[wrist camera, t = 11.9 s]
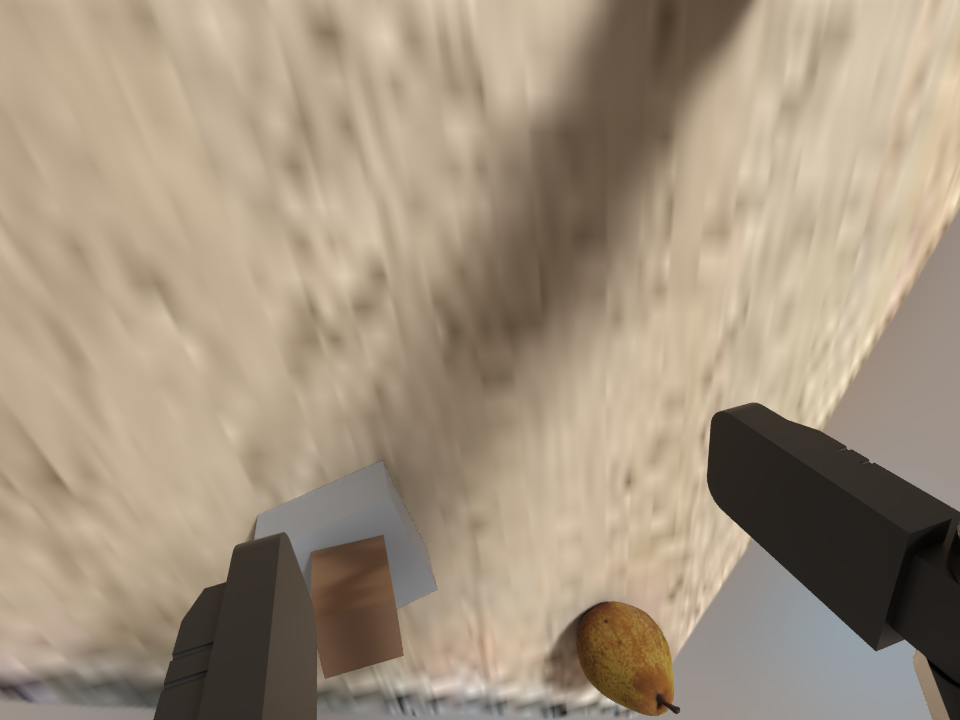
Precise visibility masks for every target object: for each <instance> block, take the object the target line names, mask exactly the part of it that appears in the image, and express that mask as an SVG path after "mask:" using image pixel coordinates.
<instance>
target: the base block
mask: <svg viewBox="0 0 960 720" xmlns="http://www.w3.org/2000/svg"><path fill="white" fill-rule="evenodd" d="M281 532H285V533H286V534H287V535H288V537H289V539H290V542H291V544H292V547H293V550H294V553H295V555H296V558H297V561H298V564H299V566H300V569H301V572H302V575H303V577H304V580H305V583H306V586H307V589H308V591H309V594H310V597H311V552H312V551H316V550H320V549H325V548H329V547H333V546H338V545H342V544H346V543H350V542H355V541H359V540H363V539H367V538H372V537H376V536H380V535H384V540H385V546H386V551H387V557H388V563H389V568H390V574H391V580H392V585H393V591H394V597H395V603H396V609H398V608H400V607H402V606H404V605H406V604H408V603H411V602H413V601H415V600H417V599H419V598H421V597H423V596H425V595H427V594H429V593H431V592H433V591H435V590H438V589H437V585H436V582H435V578H434V574H433V571H432V567H431V563H430V559H429V556H428V552H427V548H426V546H425V544H424V542H423V540H422V538H421V536H420V534H419V532H418V530H417V528H416V526H415V524H414V523H413V521H412V519H411V517H410V515H409V513H408V511H407V509H406V507H405V505H404V503H403V501H402V499H401V497H400V495H399V493H398V491H397V489H396V487H395V485H394V483H393V481H392V479H391V477H390V475H389V473H388V471H387V469H386V467H385V465H384V463H383V461H382V460H381V461H379V462H377V463H375V464H372V465H370V466H368V467H366V468H363V469H361V470H359V471H357V472H354V473H352V474H350V475H347V476H345V477H343V478H341V479H338V480H336V481H334V482H332V483H329V484H327V485H325V486H323V487H320V488H318V489H316V490H314V491H311V492H309V493H307V494H304V495H302V496H300V497H298V498H295V499H293V500H291V501H289V502H286V503H284V504H282V505H280V506H277V507H275V508H273V509H271V510H268V511H266V512H264V513H262V514H259V515H258V517H257V523H256V530H255V536H254V540H256V539H260V538H263V537H267V536H270V535H274V534H278V533H281Z"/></svg>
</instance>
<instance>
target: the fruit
mask: <svg viewBox="0 0 960 720" xmlns="http://www.w3.org/2000/svg"><path fill="white" fill-rule="evenodd" d="M577 650H578V656H579V660H580V663H581V667H582V669H583V671H584V673H585V675H586V676H587V678H588V679H589V681H590V682H591V683H592V685H593V686H594V687H595V688H596V689H597V690H598V691H600V692H601V693H602V694H603V695H604V696H606V697H607V698H609V699H611V700H612V701H614V702H616V703H618V704H620V705H622V706H624V707H626V708H629V709H631V710H633V711H636V712H638V713H641V714H644V715H649V716H658V715H661V714H663V713H665V712H667V711H668V709H670V710H671V711H673V712H674V713H675V714H678V713H679V712H680V708H679V707H676V706H674V705H672V701H673V695H674V682H673V673H672V659H671V653H670V649H669V646H668V643H667V641H666V639H665V637H664V635H663V633H662V631H661V629H660V628H659V627H658V625H657V624H656V623H655V621H654V620H653V619H652V618H651V617H650V616H649V615H648V614H647V613H645V612H644V611H642V610H640V609H638V608H636V607H634V606H631V605H627V604H624V603H620V602H615V601H612V602H606V603H603V604H600V605H598V606H596V607H595V608H593V609H592V610H591V611H589V612H588V613H587V614H585V616H584V617H583V618H582V619H581V621H580V624H579V626H578V629H577Z"/></svg>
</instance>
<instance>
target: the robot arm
mask: <svg viewBox="0 0 960 720" xmlns="http://www.w3.org/2000/svg"><path fill="white" fill-rule="evenodd" d="M707 483H708V487H709V490H710V493H711V495H712V497H713V499H714V501H715V502H716V504H717V505H718V506H719V507H720V509H721V510H722V511H724V512H725V513H726V514H727V515H728V516H729V517H730V518H731V519H732V520H733V521H734V522H736V523H737V524H738V525H739V526H740V527H741V528H742V529H743V530H744V531H745V532H746V533H748V534H749V535H750V536H751V537H752V538H753V539H754V540H755V541H756V542H757V543H759V544H760V545H761V546H762V547H763V548H764V549H765V550H766V551H767V552H768V553H769V554H770V555H771V556H773V557H774V558H775V559H776V560H777V561H778V562H779V563H780V564H781V565H782V566H783V567H785V568H786V569H787V570H788V571H789V572H790V573H791V574H792V575H793V576H794V577H795V578H796V579H798V580H799V581H800V582H801V583H802V584H803V585H804V586H805V587H806V588H807V589H808V590H810V591H811V592H812V593H813V594H814V595H815V596H816V597H817V598H818V599H819V600H820V601H822V602H823V603H824V604H825V605H826V606H827V607H828V608H829V609H831V611H832V612H834V613H835V614H836V615H837V616H838V617H839V618H840V619H841V620H842V621H843V622H844V623H845V624H847V625H848V626H849V627H850V628H851V629H852V630H853V631H854V632H855V633H856V634H858V635H859V636H860V637H861V638H862V639H863V640H864V641H865V642H866V643H867V644H868V645H869V646H871V647H872V648H873V649H874V650H875V651H878V650H880V649H883V648H885V647H888V646H890V645H893V644H895V643H897V642H900V641H902V640H904V639H905V640H906V641H908V642H909V643H910V644H911V645H912V646H913V647H915V648H916V651H915V654H914V657H913V663H914V668H915V672H916V674H917V677H918V680H919V683H920V686H921V688H922V691H923V694H924V697H925V700H926V702H927V705H928V708H929V711H930V713H931V716H932V719H933V720H960V512H959V511H957V510H955V509H954V508H951V507H950V506H948V505H947V504H945V503H943V502H942V501H940V500H938V499H936V498H935V497H933V496H931V495H929V494H928V493H926V492H924V491H922V490H921V489H919V488H917V487H916V486H914V485H912V484H910V483H909V482H907V481H905V480H904V479H902V478H900V477H898V476H897V475H895V474H893V473H892V472H890V471H888V470H886V469H885V468H883V467H881V466H879V465H878V464H876V463H873V464H871V463H870V462H869V459H867V458H866V457H864V456H862V455H860V454H859V453H857V452H855V451H854V450H847V448H846V446H845V445H843V444H841V443H840V442H838V441H836V440H835V439H833V438H831V437H829V436H828V435H826V434H824V433H823V432H821V431H819V430H816V429H813V428H810V427H807V426H804V425H801V424H798V423H795V422H792V421H789V420H787V419H785V418H783V417H782V416H780V415H778V414H777V413H775V412H773V411H771V410H770V409H768V408H766V407H765V406H763V405H761V404H759V403H748V404H745V405H741V406H738V407H734V408H730V409H727V410H723V411H720V412H717V413H716V414H715V415H714V416H713V418H712V420H711V428H710V442H709V456H708V469H707ZM172 655H173V661H170V664H169V667H168V671H167V674H166V678H165V681H164V686H165V689H164V691H162V692H161V695H160V699H159V702H158V706H157V709H156V712H155V716H154V719H153V720H317V628H316V620H315V613H314V608H313V604H312V600H311V597H310V594H309V591H308V589H307V586H306V583H305V580H304V577H303V575H302V572H301V569H300V566H299V564H298V561H297V558H296V555H295V553H294V550H293V547H292V544H291V542H290V539H289V537H288V535H287V534H286V533H285V532H281V533H278V534H274V535H270V536H267V537H263V538H260V539H256V540H252V541H249V542H245V543H242V544H238V545H236V546H235V548H234V550H233V554H232V558H231V563H230V568H229V572H228V577H227V582H226V583H222V584H219V585H215V586H212V587H208V588H205V589H204V590H203V591H202V593H201V594H200V596H199V597H198V599H197V600H196V601H195V603H194V604H193V606H192V607H191V609H190V610H189V611H188V613H187V614H186V616H185V617H184V619H183V620H182V622H181V626H180V629H179V633H178V636H177V640H176V643H175V647H174V650H173V654H172Z"/></svg>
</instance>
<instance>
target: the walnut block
mask: <svg viewBox="0 0 960 720" xmlns="http://www.w3.org/2000/svg"><path fill="white" fill-rule="evenodd" d="M311 600H312V604H313V608H314V613H315V620H316V628H317V649H318V653H319V657H320V661H321V665H322V669H323V673H324V677H325V679H326V678H329V677H333V676H336V675H339V674H343V673H346V672H350V671H353V670H356V669H360V668H363V667H367V666H370V665H373V664H377V663H380V662H384V661H387V660H391V659H394V658H397V657H401V656H404V655H403V648H402V642H401V635H400V629H399V622H398V616H397V609H396V603H395V597H394V591H393V585H392V580H391V574H390V568H389V563H388V557H387V551H386V546H385V540H384V535H380V536H376V537H372V538H367V539H363V540H359V541H355V542H350V543H346V544H342V545H338V546H333V547H329V548H325V549H320V550H316V551H312V552H311Z"/></svg>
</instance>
